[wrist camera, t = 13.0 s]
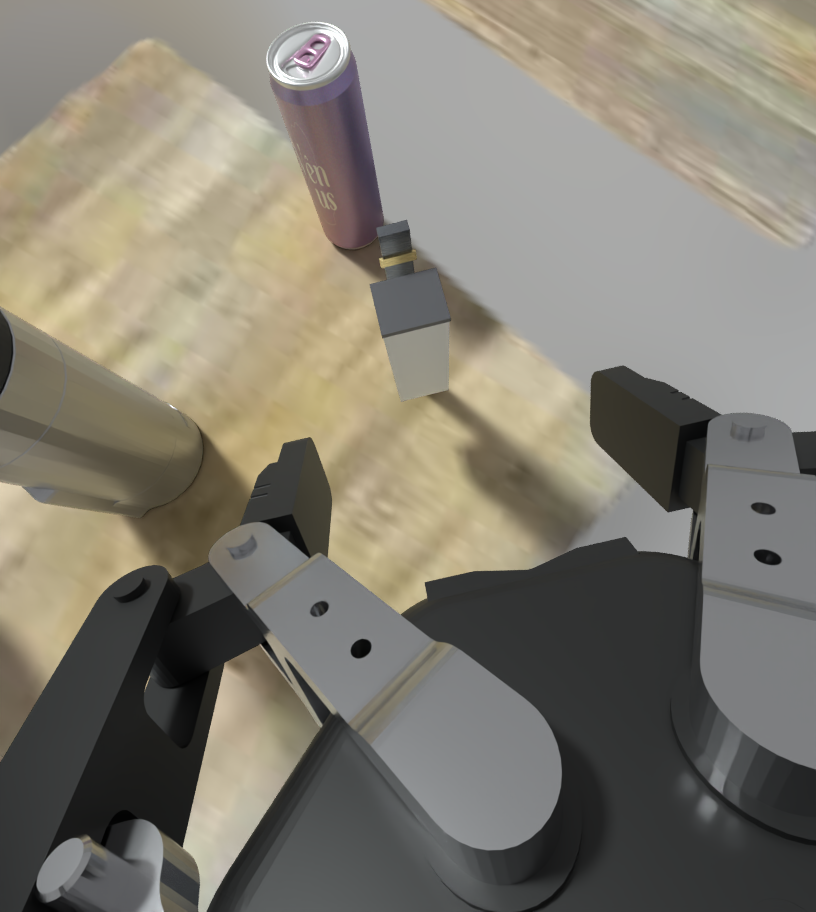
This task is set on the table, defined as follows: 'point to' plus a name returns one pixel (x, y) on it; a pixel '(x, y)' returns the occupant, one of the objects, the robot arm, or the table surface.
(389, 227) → the rail
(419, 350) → the fader knob
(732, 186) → the table surface
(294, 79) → the beverage can
